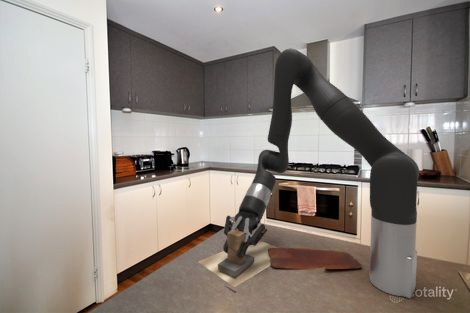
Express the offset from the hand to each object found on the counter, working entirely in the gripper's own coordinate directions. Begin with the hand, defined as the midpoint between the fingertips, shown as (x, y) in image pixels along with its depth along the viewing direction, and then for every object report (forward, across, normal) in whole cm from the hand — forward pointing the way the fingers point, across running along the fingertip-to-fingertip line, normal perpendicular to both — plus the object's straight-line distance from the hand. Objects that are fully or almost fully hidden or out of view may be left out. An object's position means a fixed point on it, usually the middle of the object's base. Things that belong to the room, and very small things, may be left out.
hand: (232, 254), depth 62 cm
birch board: (-1, -1, +10) cm, 10 cm away
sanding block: (+2, 0, +4) cm, 4 cm away
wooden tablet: (-10, +16, +17) cm, 25 cm away
